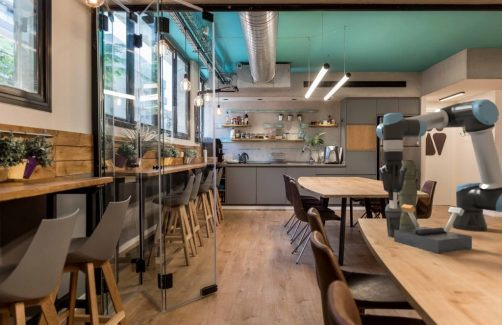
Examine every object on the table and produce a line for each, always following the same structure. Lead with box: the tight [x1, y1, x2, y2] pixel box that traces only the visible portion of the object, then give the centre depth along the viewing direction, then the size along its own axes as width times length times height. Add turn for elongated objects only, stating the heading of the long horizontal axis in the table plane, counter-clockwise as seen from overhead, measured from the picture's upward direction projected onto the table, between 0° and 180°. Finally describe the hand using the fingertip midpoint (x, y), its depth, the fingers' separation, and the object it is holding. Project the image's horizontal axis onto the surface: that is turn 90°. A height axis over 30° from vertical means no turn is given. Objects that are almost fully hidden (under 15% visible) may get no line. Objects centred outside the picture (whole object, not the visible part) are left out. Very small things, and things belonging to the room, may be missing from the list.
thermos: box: [395, 159, 422, 229], centre depth 180 cm, size 9×12×35 cm
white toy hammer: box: [444, 206, 464, 233], centre depth 141 cm, size 2×5×11 cm
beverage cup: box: [384, 203, 402, 238], centre depth 162 cm, size 7×7×20 cm
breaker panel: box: [393, 226, 473, 255], centre depth 145 cm, size 18×22×5 cm
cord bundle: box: [414, 227, 445, 235], centre depth 145 cm, size 15×3×2 cm, turn 112°
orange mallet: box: [401, 204, 421, 228], centre depth 149 cm, size 2×5×11 cm
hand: (393, 208), depth 146 cm, fingers closed
